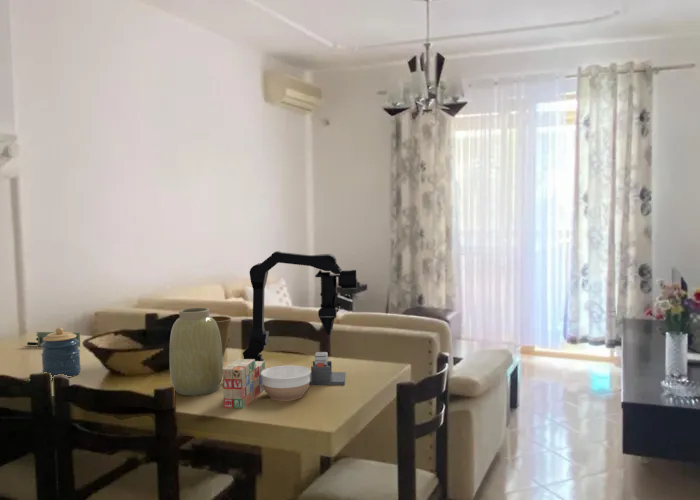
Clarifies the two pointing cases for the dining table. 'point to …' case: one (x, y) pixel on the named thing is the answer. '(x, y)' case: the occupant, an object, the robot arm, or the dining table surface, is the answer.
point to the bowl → (286, 382)
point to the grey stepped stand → (326, 375)
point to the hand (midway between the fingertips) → (329, 332)
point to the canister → (61, 353)
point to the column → (321, 358)
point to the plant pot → (223, 330)
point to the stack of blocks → (242, 382)
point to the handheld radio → (44, 334)
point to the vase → (195, 353)
